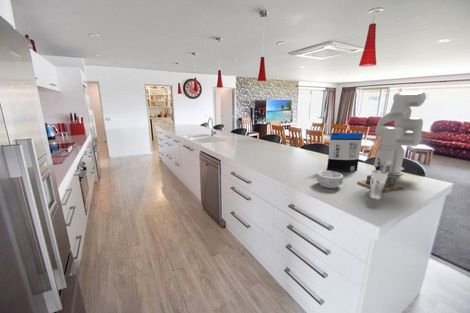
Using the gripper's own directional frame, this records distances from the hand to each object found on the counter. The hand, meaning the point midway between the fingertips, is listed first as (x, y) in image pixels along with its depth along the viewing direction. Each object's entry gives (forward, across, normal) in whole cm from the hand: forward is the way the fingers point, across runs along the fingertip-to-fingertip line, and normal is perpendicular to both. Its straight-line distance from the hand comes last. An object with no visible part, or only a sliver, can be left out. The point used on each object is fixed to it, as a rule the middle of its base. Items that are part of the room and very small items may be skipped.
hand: (381, 174), depth 134 cm
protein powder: (+8, -5, -35) cm, 36 cm away
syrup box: (+5, 0, 0) cm, 5 cm away
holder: (+7, 0, 0) cm, 7 cm away
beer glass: (+8, +20, +12) cm, 25 cm away
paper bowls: (+8, +31, -11) cm, 34 cm away
